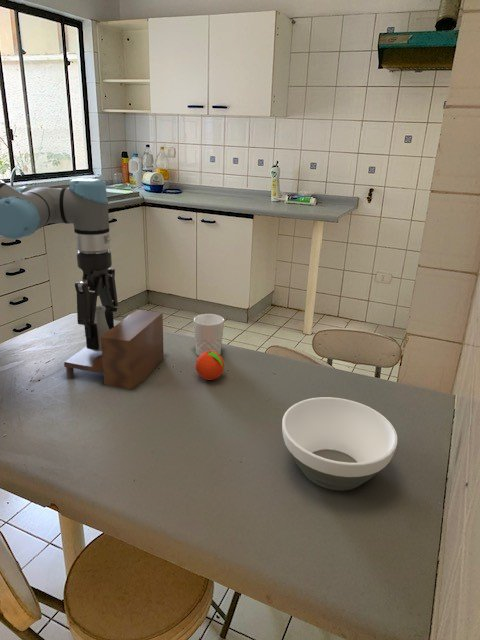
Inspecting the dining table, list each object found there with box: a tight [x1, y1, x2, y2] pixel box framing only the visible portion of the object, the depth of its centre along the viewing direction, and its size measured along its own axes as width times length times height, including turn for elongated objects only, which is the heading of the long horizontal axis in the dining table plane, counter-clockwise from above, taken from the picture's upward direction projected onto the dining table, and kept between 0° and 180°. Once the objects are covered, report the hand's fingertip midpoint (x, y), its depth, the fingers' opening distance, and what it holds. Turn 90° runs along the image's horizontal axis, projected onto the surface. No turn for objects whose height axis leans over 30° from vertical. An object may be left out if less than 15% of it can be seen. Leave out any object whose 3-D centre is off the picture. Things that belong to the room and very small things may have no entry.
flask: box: [85, 305, 110, 352], centre depth 112 cm, size 7×7×10 cm
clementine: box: [195, 351, 225, 381], centre depth 111 cm, size 8×7×7 cm
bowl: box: [281, 396, 398, 491], centre depth 82 cm, size 20×20×10 cm
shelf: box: [63, 309, 165, 391], centre depth 113 cm, size 17×18×13 cm
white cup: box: [193, 313, 225, 357], centre depth 124 cm, size 8×8×10 cm
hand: (101, 342), depth 113 cm, fingers closed on flask, 7 cm apart
